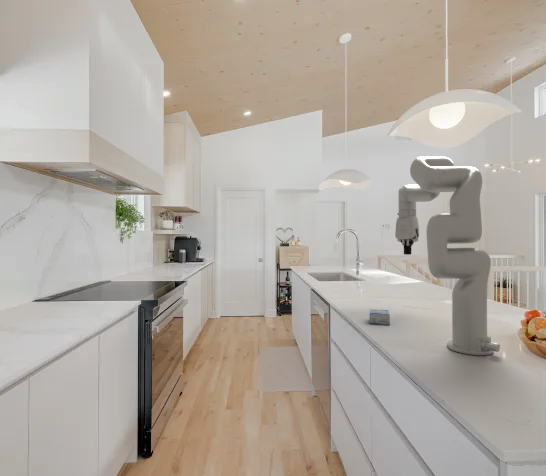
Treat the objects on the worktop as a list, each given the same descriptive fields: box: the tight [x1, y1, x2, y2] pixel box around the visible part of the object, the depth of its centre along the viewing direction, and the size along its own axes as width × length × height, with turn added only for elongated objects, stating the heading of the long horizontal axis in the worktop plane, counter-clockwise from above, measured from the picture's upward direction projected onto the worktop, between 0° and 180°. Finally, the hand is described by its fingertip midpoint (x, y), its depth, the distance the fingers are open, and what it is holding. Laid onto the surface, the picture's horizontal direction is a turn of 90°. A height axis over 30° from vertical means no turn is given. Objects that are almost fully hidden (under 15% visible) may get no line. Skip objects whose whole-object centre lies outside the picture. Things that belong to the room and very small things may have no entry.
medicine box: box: [369, 309, 391, 326], centre depth 145 cm, size 8×4×9 cm
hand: (407, 254), depth 161 cm, fingers closed
